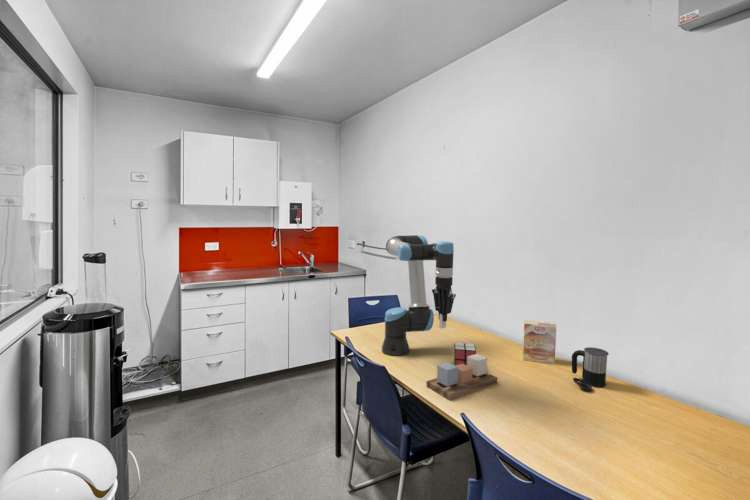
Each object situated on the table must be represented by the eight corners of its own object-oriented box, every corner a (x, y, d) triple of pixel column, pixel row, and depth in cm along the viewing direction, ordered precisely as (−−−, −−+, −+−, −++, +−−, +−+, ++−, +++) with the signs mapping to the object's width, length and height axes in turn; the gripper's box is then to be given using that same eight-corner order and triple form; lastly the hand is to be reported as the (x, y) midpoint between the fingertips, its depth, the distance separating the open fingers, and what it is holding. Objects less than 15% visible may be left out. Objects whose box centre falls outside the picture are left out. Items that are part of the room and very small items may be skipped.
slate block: (437, 381, 155) (437, 365, 154) (447, 377, 158) (447, 362, 158) (447, 386, 150) (447, 370, 149) (457, 383, 153) (457, 367, 153)
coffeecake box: (522, 360, 187) (524, 323, 185) (522, 355, 193) (524, 319, 192) (555, 364, 181) (556, 326, 179) (553, 359, 188) (555, 322, 186)
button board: (426, 386, 157) (426, 381, 157) (473, 371, 173) (473, 366, 173) (449, 400, 146) (449, 394, 145) (497, 382, 161) (497, 377, 161)
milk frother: (603, 380, 164) (605, 348, 162) (613, 396, 149) (615, 361, 148) (568, 375, 168) (569, 344, 167) (574, 391, 154) (576, 357, 152)
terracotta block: (452, 381, 160) (452, 366, 159) (462, 378, 163) (462, 363, 163) (462, 387, 155) (462, 371, 154) (472, 383, 158) (472, 368, 158)
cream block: (467, 371, 165) (467, 356, 164) (476, 368, 168) (476, 353, 167) (477, 376, 160) (477, 360, 159) (486, 373, 163) (486, 358, 162)
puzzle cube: (475, 371, 174) (476, 350, 173) (454, 369, 176) (454, 349, 175) (474, 362, 183) (474, 343, 183) (454, 361, 185) (454, 342, 185)
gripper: (427, 274, 165) (426, 324, 168) (448, 279, 154) (446, 333, 157) (439, 273, 169) (438, 322, 172) (460, 277, 158) (459, 330, 161)
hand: (442, 327), depth 165 cm, fingers closed
